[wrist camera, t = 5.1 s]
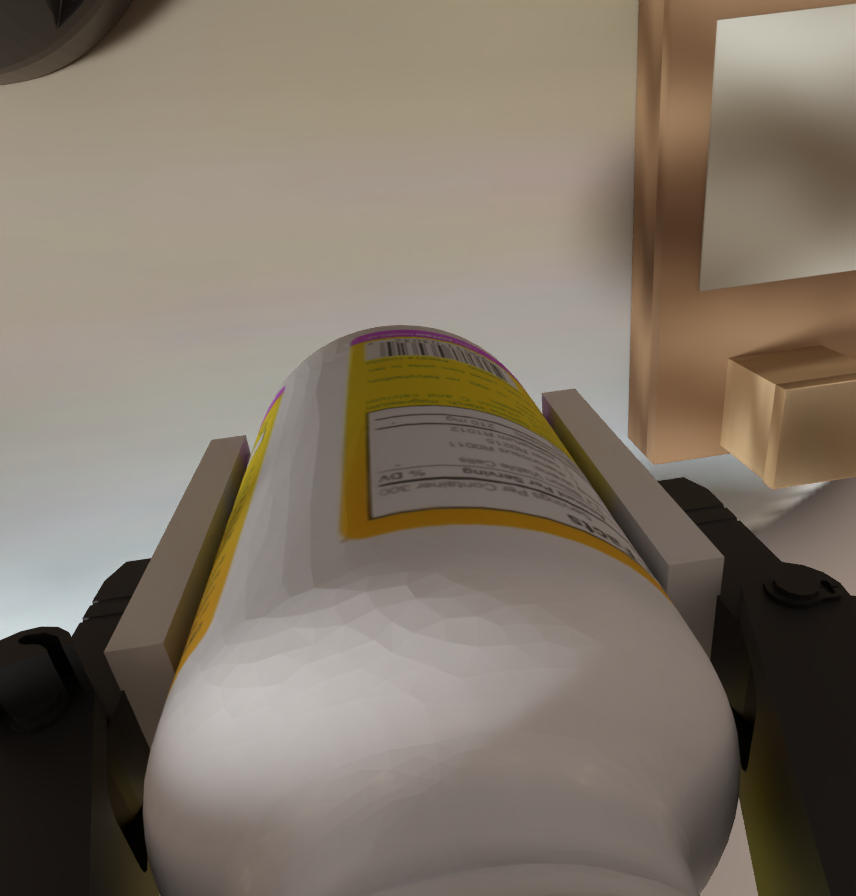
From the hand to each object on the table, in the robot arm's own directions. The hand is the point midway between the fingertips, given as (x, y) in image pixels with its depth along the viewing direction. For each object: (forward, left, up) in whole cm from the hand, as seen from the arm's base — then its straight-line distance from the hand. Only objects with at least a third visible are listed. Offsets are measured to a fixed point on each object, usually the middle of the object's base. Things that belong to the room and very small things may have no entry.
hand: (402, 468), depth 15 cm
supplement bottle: (0, 0, -1) cm, 1 cm away
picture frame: (-2, +17, -14) cm, 22 cm away
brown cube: (+5, +16, -11) cm, 20 cm away
